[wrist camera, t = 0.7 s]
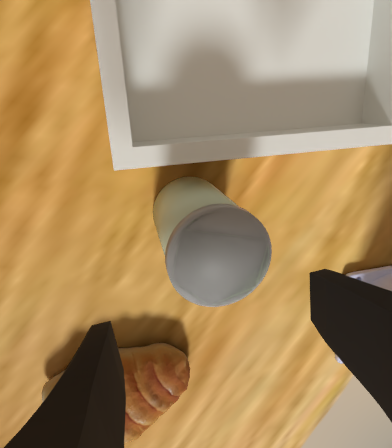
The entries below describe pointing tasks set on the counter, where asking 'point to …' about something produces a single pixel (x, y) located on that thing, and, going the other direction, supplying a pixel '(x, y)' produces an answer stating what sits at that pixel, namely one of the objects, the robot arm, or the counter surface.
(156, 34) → the bin
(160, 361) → the pastry
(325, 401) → the counter surface
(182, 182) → the tin
